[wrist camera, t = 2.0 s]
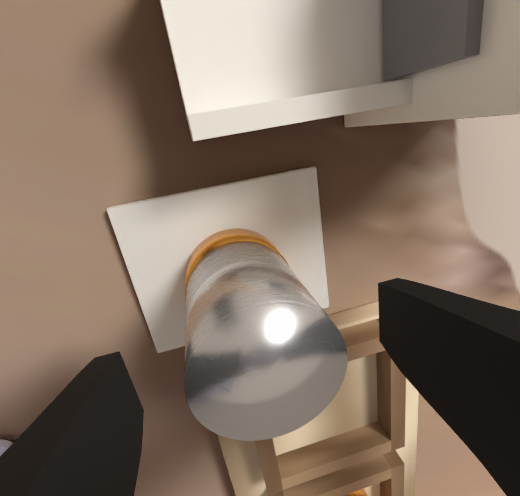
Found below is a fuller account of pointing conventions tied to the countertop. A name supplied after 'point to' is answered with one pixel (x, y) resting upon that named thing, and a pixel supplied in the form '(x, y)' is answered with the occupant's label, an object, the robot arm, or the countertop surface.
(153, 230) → the mat
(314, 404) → the sleeve
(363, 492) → the sleeve
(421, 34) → the feeder
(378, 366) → the seat board
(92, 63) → the countertop surface
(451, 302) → the robot arm
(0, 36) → the countertop surface
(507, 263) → the countertop surface
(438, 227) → the countertop surface
